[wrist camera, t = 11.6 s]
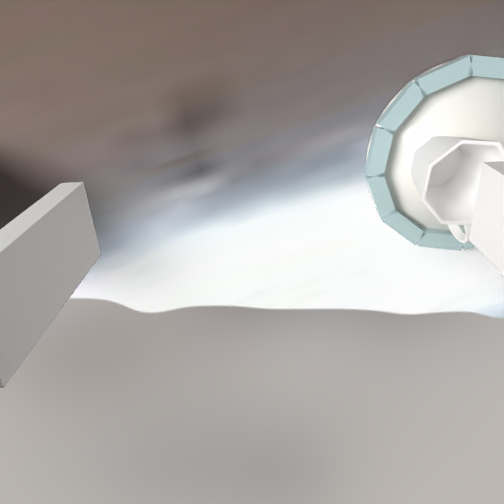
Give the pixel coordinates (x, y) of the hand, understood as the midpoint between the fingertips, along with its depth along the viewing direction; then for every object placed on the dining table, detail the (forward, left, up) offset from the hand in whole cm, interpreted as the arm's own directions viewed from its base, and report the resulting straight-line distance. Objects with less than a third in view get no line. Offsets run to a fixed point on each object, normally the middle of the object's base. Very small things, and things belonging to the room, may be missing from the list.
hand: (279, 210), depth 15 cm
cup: (+5, +16, -26) cm, 31 cm away
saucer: (+3, +18, -27) cm, 32 cm away
